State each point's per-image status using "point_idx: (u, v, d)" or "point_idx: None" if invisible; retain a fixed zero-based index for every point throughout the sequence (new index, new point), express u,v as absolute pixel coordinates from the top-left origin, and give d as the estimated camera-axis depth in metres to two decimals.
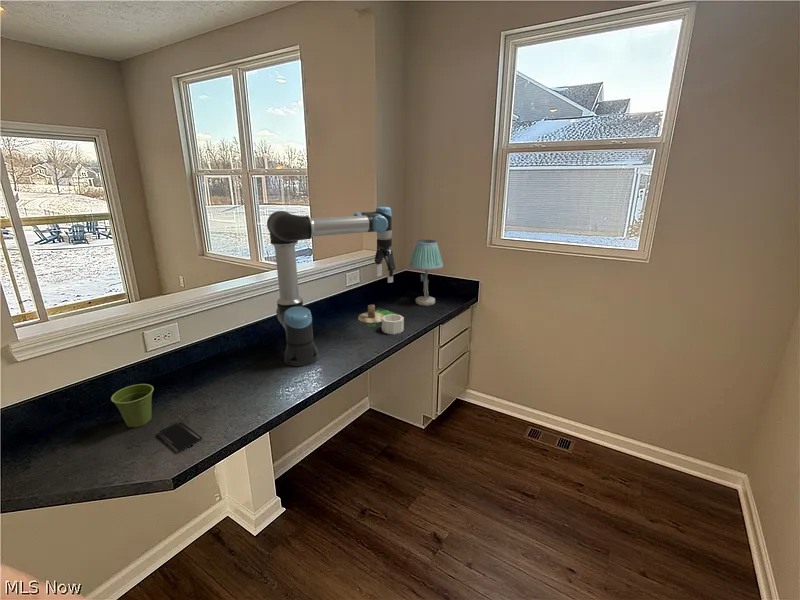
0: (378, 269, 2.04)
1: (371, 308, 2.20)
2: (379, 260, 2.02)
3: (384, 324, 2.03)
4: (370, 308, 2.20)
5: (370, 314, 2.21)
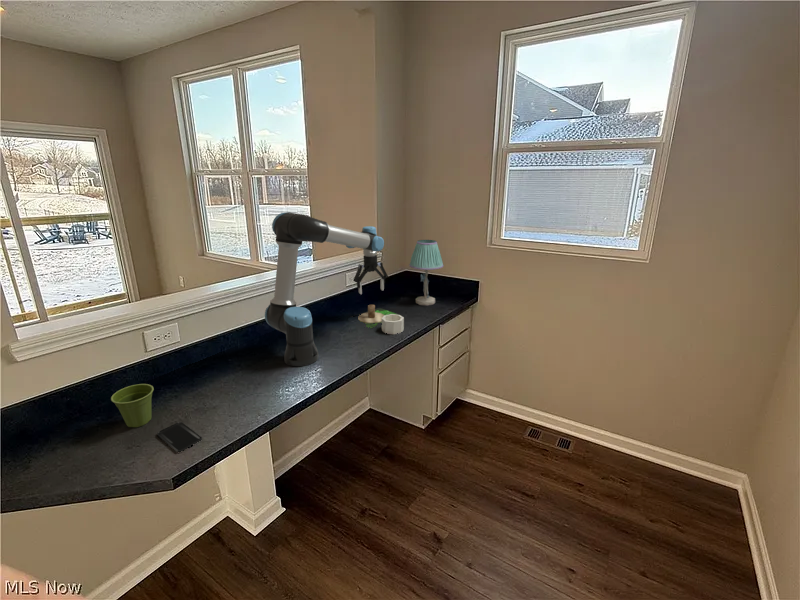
0: (381, 283, 2.21)
1: (371, 308, 2.20)
2: None
3: (384, 324, 2.03)
4: (370, 308, 2.20)
5: (370, 314, 2.21)
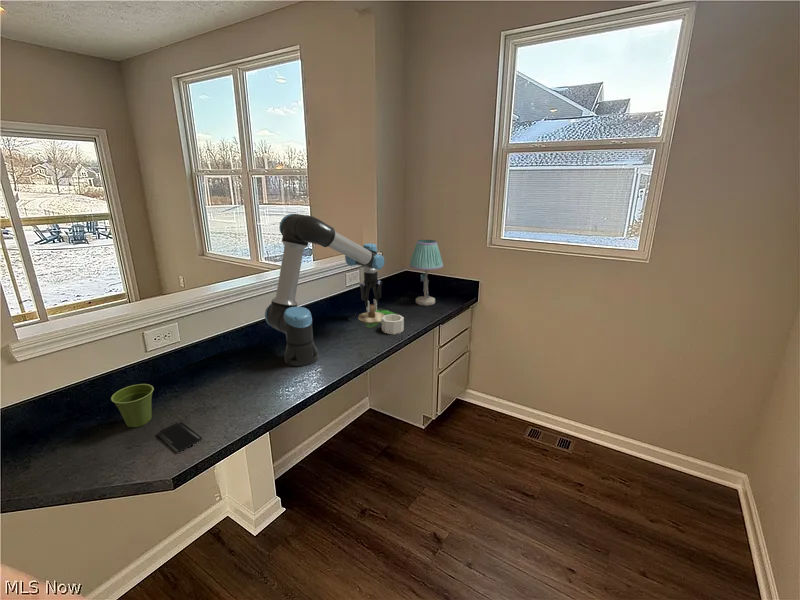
0: (374, 303, 2.23)
1: (371, 308, 2.20)
2: (374, 294, 2.21)
3: (384, 324, 2.03)
4: (370, 308, 2.20)
5: (370, 314, 2.21)
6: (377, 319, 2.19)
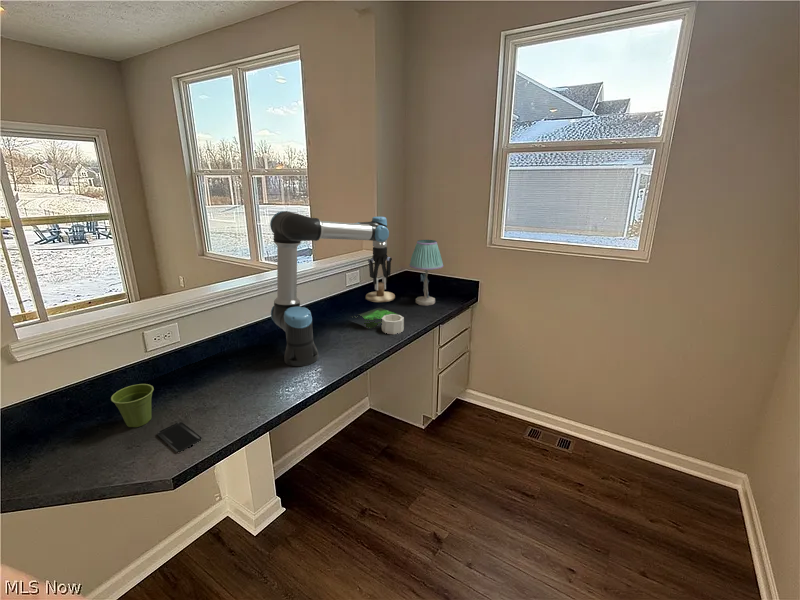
0: (382, 281, 2.10)
1: (380, 285, 2.07)
2: (383, 271, 2.08)
3: (384, 324, 2.03)
4: (379, 285, 2.07)
5: (379, 292, 2.08)
6: (386, 298, 2.07)
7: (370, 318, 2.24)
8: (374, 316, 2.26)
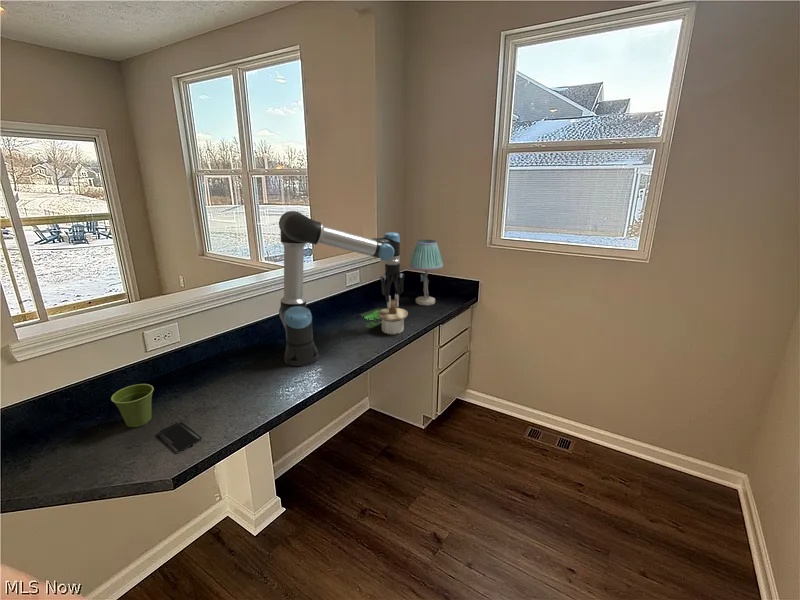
0: (395, 298, 2.04)
1: (393, 303, 2.01)
2: (396, 288, 2.02)
3: (384, 324, 2.03)
4: (392, 303, 2.01)
5: (391, 310, 2.02)
6: (399, 315, 2.00)
7: (370, 318, 2.24)
8: (374, 316, 2.26)
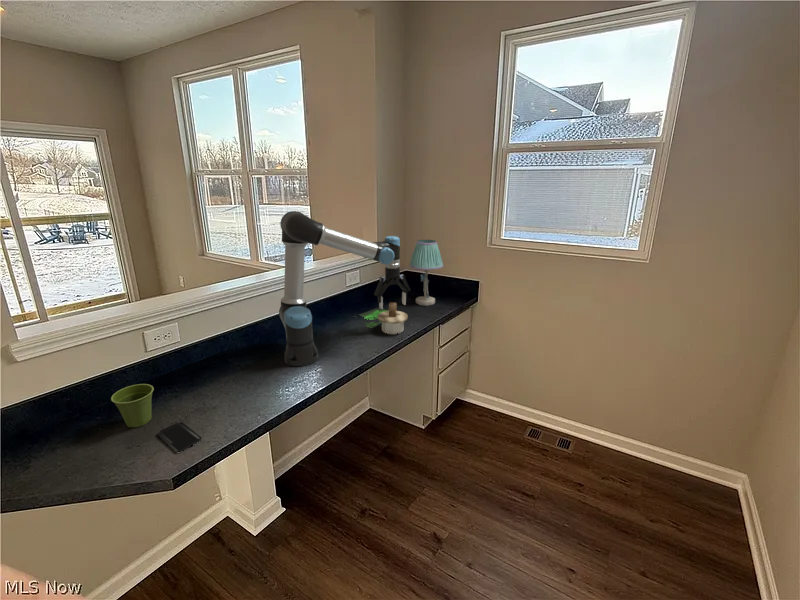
0: (402, 297, 2.05)
1: (393, 306, 2.01)
2: (401, 288, 2.03)
3: (384, 324, 2.03)
4: (391, 306, 2.01)
5: (391, 313, 2.03)
6: (399, 319, 2.01)
7: (370, 318, 2.24)
8: (374, 316, 2.26)
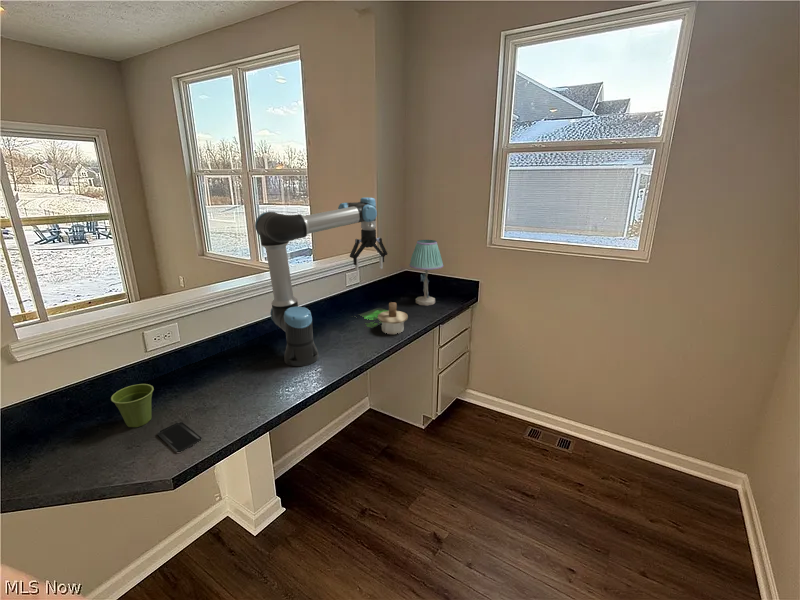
0: (379, 261, 2.04)
1: (393, 306, 2.01)
2: (378, 252, 2.02)
3: (384, 324, 2.03)
4: (391, 306, 2.01)
5: (391, 313, 2.03)
6: (399, 319, 2.01)
7: (370, 318, 2.24)
8: (374, 316, 2.26)
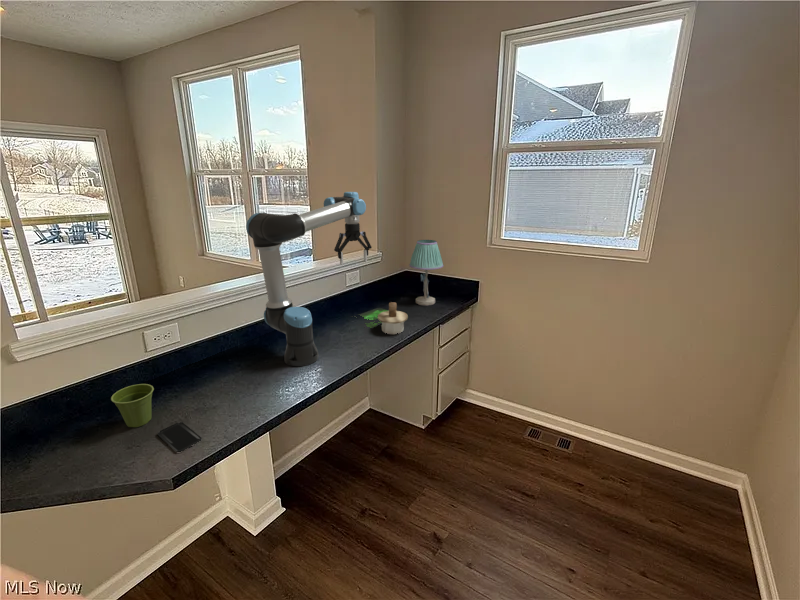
0: (364, 254, 2.08)
1: (393, 306, 2.01)
2: (362, 245, 2.05)
3: (384, 324, 2.03)
4: (391, 306, 2.01)
5: (391, 313, 2.03)
6: (399, 319, 2.01)
7: (370, 318, 2.24)
8: (374, 316, 2.26)
